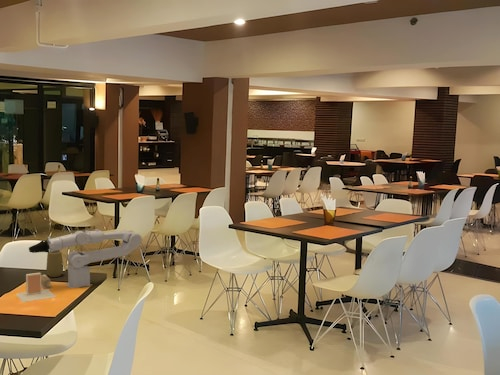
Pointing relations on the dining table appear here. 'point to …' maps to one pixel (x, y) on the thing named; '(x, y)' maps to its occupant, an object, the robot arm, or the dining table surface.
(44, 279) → the wooden bar
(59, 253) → the squeeze bottle
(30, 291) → the tile
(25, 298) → the mat
